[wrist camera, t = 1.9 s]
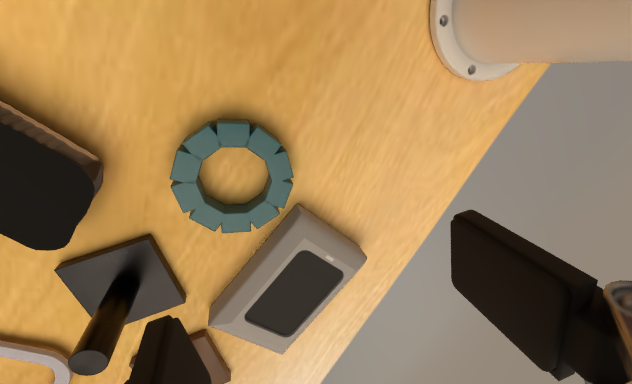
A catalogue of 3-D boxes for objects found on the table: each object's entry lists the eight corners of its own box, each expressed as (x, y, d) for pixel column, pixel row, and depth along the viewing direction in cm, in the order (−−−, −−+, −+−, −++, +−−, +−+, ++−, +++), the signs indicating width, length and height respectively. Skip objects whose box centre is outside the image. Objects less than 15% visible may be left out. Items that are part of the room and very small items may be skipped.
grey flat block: (207, 335, 29) (305, 219, 27) (209, 308, 32) (297, 203, 30) (283, 363, 33) (373, 265, 31) (278, 337, 36) (359, 246, 34)
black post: (150, 233, 28) (118, 300, 20) (186, 296, 31) (171, 375, 23) (59, 263, 27) (-15, 347, 19) (107, 325, 30) (61, 419, 22)
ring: (270, 104, 26) (273, 106, 24) (300, 204, 31) (304, 213, 29) (154, 137, 25) (148, 142, 23) (202, 237, 29) (201, 248, 27)
